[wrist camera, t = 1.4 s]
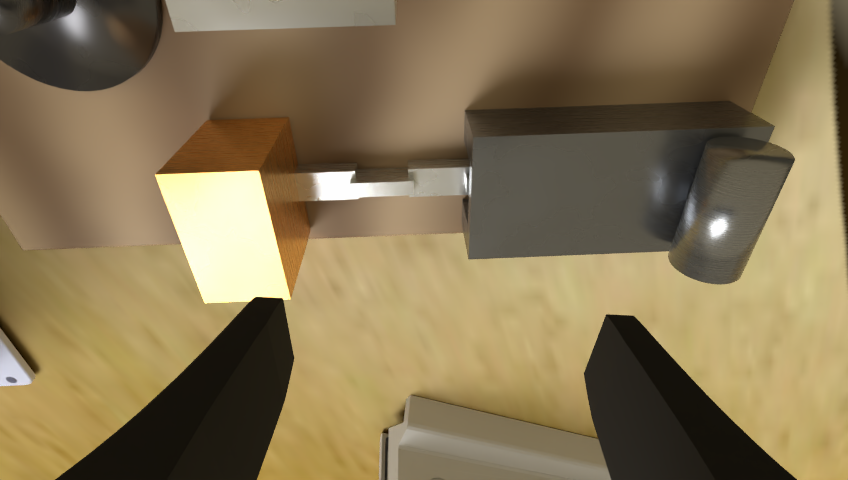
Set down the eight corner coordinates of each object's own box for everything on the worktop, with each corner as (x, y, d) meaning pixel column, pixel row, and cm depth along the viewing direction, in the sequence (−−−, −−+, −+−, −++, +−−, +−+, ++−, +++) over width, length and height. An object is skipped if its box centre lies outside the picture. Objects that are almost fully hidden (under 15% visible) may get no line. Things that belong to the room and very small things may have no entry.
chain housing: (461, 223, 20) (476, 301, 16) (464, 110, 17) (483, 170, 13) (690, 214, 21) (762, 288, 16) (729, 100, 18) (828, 156, 14)
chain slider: (240, 233, 20) (204, 302, 16) (206, 120, 17) (154, 174, 14) (668, 216, 20) (725, 281, 17) (705, 102, 18) (783, 151, 14)
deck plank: (34, 239, 21) (22, 250, 20) (-281, -283, 12) (-321, -294, 11) (699, 213, 21) (708, 222, 21) (889, -306, 12) (916, -319, 12)
